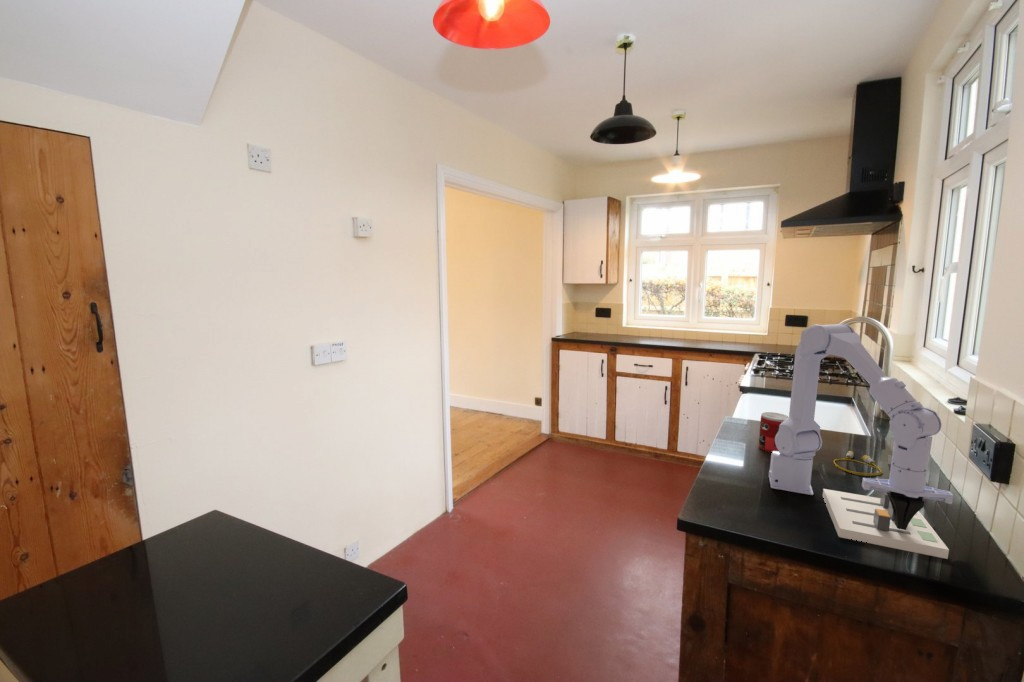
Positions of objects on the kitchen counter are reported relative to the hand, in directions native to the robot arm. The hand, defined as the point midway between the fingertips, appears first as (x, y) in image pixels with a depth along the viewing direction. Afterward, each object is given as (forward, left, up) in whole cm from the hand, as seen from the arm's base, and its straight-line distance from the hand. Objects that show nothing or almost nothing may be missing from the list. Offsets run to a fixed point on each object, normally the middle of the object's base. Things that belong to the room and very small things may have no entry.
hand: (900, 527), depth 99 cm
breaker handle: (-3, 0, -1) cm, 3 cm away
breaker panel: (-2, +6, -3) cm, 7 cm away
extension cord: (+2, +42, -4) cm, 42 cm away
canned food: (-20, +46, -3) cm, 50 cm away
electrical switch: (+8, +29, -3) cm, 30 cm away
